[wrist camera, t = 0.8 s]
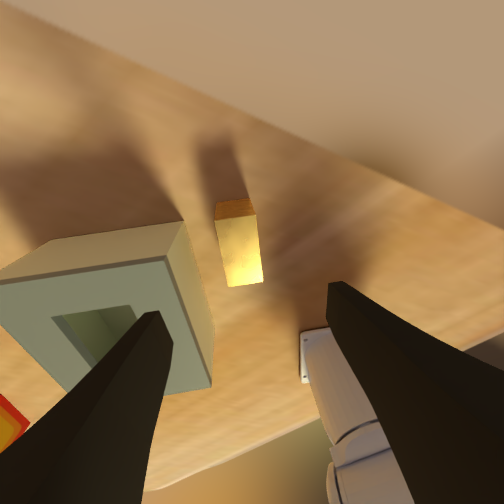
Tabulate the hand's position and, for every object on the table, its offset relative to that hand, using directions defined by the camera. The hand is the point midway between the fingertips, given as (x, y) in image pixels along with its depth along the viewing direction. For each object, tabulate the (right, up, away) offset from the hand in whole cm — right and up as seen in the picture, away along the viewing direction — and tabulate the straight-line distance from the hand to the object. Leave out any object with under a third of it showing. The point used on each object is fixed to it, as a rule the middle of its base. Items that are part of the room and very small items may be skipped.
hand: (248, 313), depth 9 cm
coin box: (-9, -1, +10) cm, 14 cm away
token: (-1, +4, +8) cm, 9 cm away
